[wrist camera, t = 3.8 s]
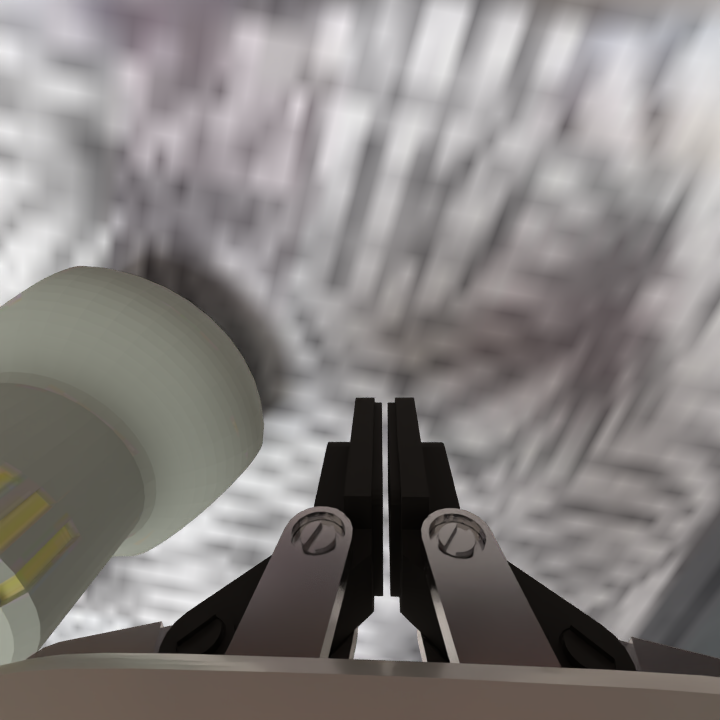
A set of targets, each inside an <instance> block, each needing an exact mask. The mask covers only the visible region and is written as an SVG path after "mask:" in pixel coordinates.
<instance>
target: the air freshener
mask: <svg viewBox="0 0 720 720" xmlns="http://www.w3.org/2000/svg"><path fill="white" fill-rule="evenodd" d="M263 430H264V422H263V414H262V406H261V400H260V396H259V393H258V390H257V387H256V384H255V380H254V378H253V376H252V374H251V372H250V370H249V368H248V366H247V364H246V362H245V360H244V358H243V356H242V355H241V353H240V352H239V351H238V349H237V348H236V346H235V345H234V344H233V342H232V341H231V339H230V338H229V337H228V336H227V334H226V333H225V332H224V331H223V330H222V329H221V328H220V327H219V326H218V325H217V324H216V323H215V322H214V321H213V320H212V319H211V318H210V317H209V316H207V315H206V314H205V313H204V312H202V311H201V310H200V309H199V308H197V307H196V306H195V305H194V304H192V303H191V302H190V301H188V300H186V299H185V298H183V297H181V296H180V295H178V294H176V293H174V292H173V291H171V290H169V289H168V288H166V287H164V286H161V285H159V284H157V283H154V282H152V281H149V280H147V279H144V278H142V277H139V276H136V275H133V274H129V273H125V272H121V271H116V270H112V269H108V268H100V267H87V266H77V267H72V268H69V269H65V270H63V271H60V272H58V273H55V274H53V275H51V276H49V277H47V278H45V279H43V280H41V281H39V282H38V283H36V284H34V285H33V286H31V287H29V288H28V289H26V290H25V291H23V292H22V293H20V294H19V295H17V296H16V297H14V298H13V299H11V300H10V301H8V302H7V303H5V304H4V305H3V306H1V307H0V665H4V664H8V663H13V662H18V661H22V660H26V659H27V658H28V657H30V656H31V655H33V654H35V653H36V652H38V651H39V649H40V648H41V647H42V645H43V644H44V643H45V642H46V640H47V639H48V638H49V636H50V635H51V634H52V633H53V631H54V630H55V629H56V627H57V626H58V625H59V624H60V622H61V621H62V620H63V619H64V617H65V616H66V615H67V613H68V612H69V611H70V610H71V608H72V607H73V606H74V604H75V603H76V602H77V601H78V599H79V598H80V597H81V596H82V594H83V593H84V592H85V590H86V589H87V588H88V587H89V585H90V584H91V583H92V581H93V580H94V579H95V578H96V576H97V575H98V574H99V572H100V571H101V570H102V569H103V567H104V566H105V565H106V564H107V562H108V561H109V560H110V558H111V557H116V556H135V555H139V554H142V553H145V552H147V551H149V550H150V549H152V548H154V547H156V546H157V545H159V544H161V543H162V542H164V541H165V540H167V539H168V538H170V537H171V536H172V535H174V534H175V533H177V532H178V531H179V530H181V529H182V528H183V527H185V526H186V525H187V524H188V523H190V522H191V521H192V520H193V519H195V518H196V517H197V516H198V515H199V514H201V513H202V512H203V511H204V510H205V509H206V508H207V507H209V506H210V505H211V504H212V503H213V502H214V501H215V500H216V499H217V498H218V497H220V496H221V495H222V494H223V493H224V492H225V491H226V490H227V489H228V488H229V487H230V486H231V485H232V484H233V483H234V482H235V480H236V479H237V478H238V477H239V476H240V475H241V474H242V473H243V472H244V471H245V470H246V468H247V467H248V466H249V465H250V463H251V462H252V461H253V460H254V458H255V457H256V455H257V454H258V452H259V450H260V448H261V446H262V443H263Z"/></svg>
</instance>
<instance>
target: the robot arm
mask: <svg viewBox="0 0 720 720" xmlns="http://www.w3.org/2000/svg"><path fill="white" fill-rule="evenodd" d="M388 506H389V550H390V594H391V596H395V597H399V598H400V613H402V614H403V615H404V616H405V617H406V618H407V619H408V620H409V621H410V622H411V623H412V624H413V625H414V626H415V627H416V628H417V638H418V644H419V648H420V653H421V657H422V662H411V661H385V660H358V659H353V658H354V653H355V648H356V643H357V636H358V626H359V625H360V624H361V623H362V622H363V621H365V620H366V619H367V618H368V617H369V616H370V615H371V614H372V613H373V612H374V596H383V472H382V403H375V399H374V398H356V400H355V408H354V416H353V424H352V432H351V440H350V442H328V444H327V448H326V453H325V458H324V462H323V467H322V472H321V476H320V481H319V485H318V490H317V495H316V499H315V504H314V507H313V508H308V509H306V510H304V511H302V512H300V513H298V514H297V515H295V516H294V517H293V518H292V519H291V520H290V521H289V523H288V524H287V525H286V527H285V529H284V531H283V533H282V535H281V537H280V539H279V541H278V544H277V546H276V548H275V550H274V552H273V554H272V555H271V556H270V557H268V558H267V559H265V560H264V561H262V562H261V563H259V564H258V565H256V566H255V567H253V568H252V569H250V570H249V571H247V572H246V573H244V574H243V575H241V576H240V577H239V578H237V579H236V580H234V581H233V582H231V583H230V584H228V585H227V586H225V587H224V588H222V589H221V590H219V591H218V592H216V593H215V594H213V595H212V596H210V597H209V598H207V599H206V600H204V601H203V602H201V603H200V604H198V605H197V606H196V607H194V608H193V609H191V610H190V611H188V612H187V613H186V614H184V615H183V616H182V617H181V618H180V619H178V620H177V621H176V622H175V623H174V624H173V625H172V626H167V627H164V626H163V623H162V621H161V622H156V623H151V624H146V625H141V626H137V627H132V628H127V629H122V630H117V631H112V632H107V633H102V634H97V635H92V636H87V637H82V638H77V639H72V640H67V641H62V642H58V643H55V644H53V645H50V646H47V647H44V648H43V649H41V650H39V651H38V652H36V653H35V654H33V655H31V656H30V657H28V658H27V659H26V660H22V661H18V662H13V663H8V664H4V665H0V720H720V659H718V658H714V657H710V656H706V655H702V654H698V653H694V652H690V651H686V650H682V649H678V648H674V647H670V646H666V645H662V644H658V643H654V642H650V641H646V640H642V639H638V638H634V637H631V638H630V640H629V643H628V642H624V641H620V640H618V639H617V638H616V636H614V635H613V634H612V633H611V632H610V631H608V630H607V629H606V628H605V627H604V626H602V625H601V624H600V623H598V622H597V621H595V620H594V619H592V618H591V617H589V616H588V615H586V614H585V613H583V612H582V611H580V610H579V609H577V608H576V607H575V606H573V605H572V604H570V603H569V602H567V601H566V600H564V599H563V598H561V597H560V596H558V595H557V594H555V593H554V592H552V591H551V590H549V589H548V588H547V587H545V586H544V585H542V584H541V583H539V582H538V581H536V580H535V579H533V578H532V577H530V576H529V575H527V574H526V573H524V572H523V571H522V570H520V569H519V568H517V567H516V566H514V565H513V564H511V563H510V562H508V561H507V560H506V558H505V556H504V554H503V552H502V550H501V548H500V547H499V545H498V543H497V541H496V539H495V537H494V535H493V533H492V531H491V530H490V528H489V527H488V525H487V524H486V523H485V522H484V521H483V520H482V519H480V518H479V517H478V516H476V515H474V514H472V513H470V512H468V511H465V510H461V509H460V506H459V502H458V498H457V494H456V490H455V486H454V482H453V478H452V474H451V470H450V466H449V462H448V458H447V454H446V450H445V446H444V444H443V443H442V442H421V439H420V433H419V427H418V420H417V414H416V408H415V401H414V398H395V403H388Z"/></svg>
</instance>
